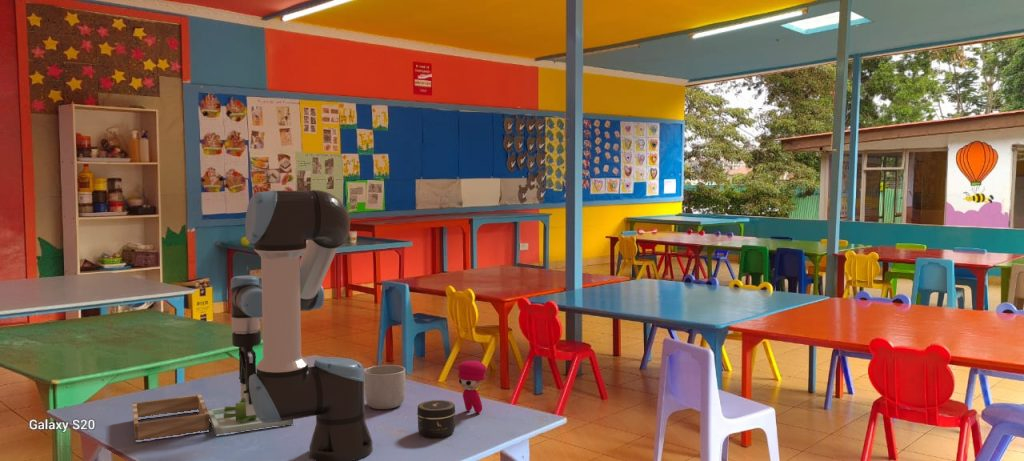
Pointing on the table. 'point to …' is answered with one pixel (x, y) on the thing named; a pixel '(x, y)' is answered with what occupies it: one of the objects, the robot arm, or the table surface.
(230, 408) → the character figure
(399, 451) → the table surface
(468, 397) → the toy
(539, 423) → the table surface
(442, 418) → the jar
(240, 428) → the tray
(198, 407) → the bin
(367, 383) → the planter
